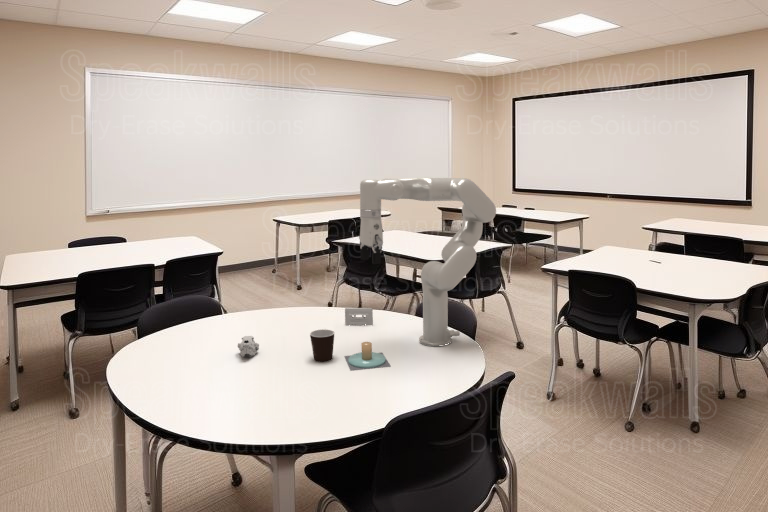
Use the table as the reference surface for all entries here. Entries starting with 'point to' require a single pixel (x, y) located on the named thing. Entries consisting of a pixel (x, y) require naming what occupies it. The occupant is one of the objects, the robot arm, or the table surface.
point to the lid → (366, 357)
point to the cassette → (358, 320)
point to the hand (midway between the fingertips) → (370, 261)
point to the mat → (366, 368)
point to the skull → (248, 346)
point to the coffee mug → (322, 344)
